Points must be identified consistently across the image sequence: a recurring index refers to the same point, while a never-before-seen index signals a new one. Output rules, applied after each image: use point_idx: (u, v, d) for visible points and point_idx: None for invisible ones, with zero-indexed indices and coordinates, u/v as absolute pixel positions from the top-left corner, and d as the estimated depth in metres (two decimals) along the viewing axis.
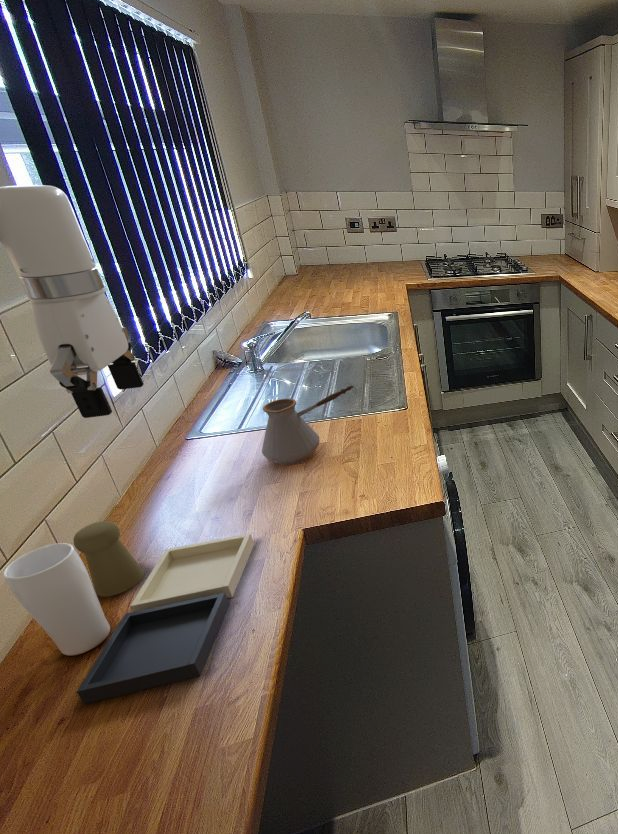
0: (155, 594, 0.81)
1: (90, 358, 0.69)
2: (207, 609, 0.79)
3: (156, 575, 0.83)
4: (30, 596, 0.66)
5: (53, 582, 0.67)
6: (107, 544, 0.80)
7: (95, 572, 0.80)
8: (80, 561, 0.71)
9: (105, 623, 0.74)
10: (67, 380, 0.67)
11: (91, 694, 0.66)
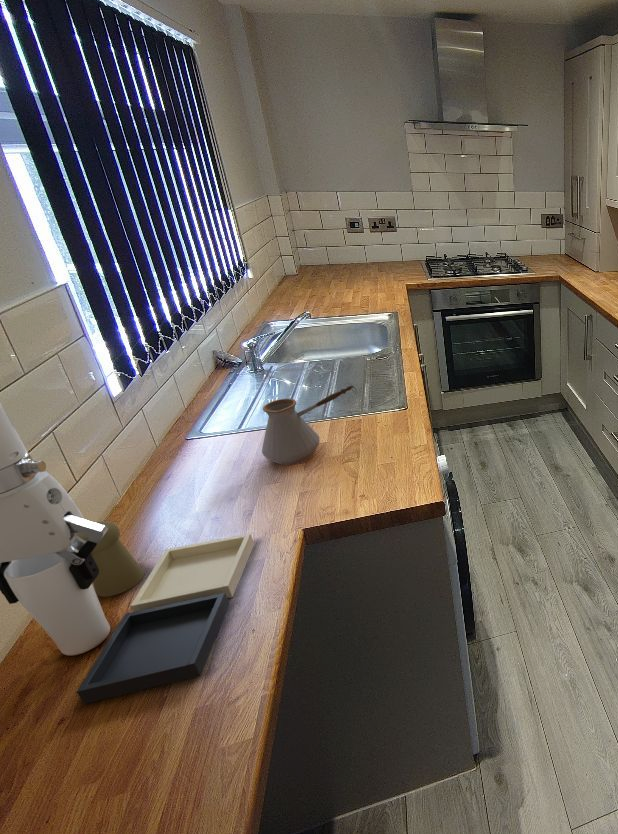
0: (155, 594, 0.81)
1: None
2: (207, 609, 0.79)
3: (156, 575, 0.83)
4: (31, 596, 0.66)
5: (53, 582, 0.67)
6: (107, 544, 0.80)
7: None
8: None
9: (105, 623, 0.74)
10: None
11: (91, 694, 0.66)
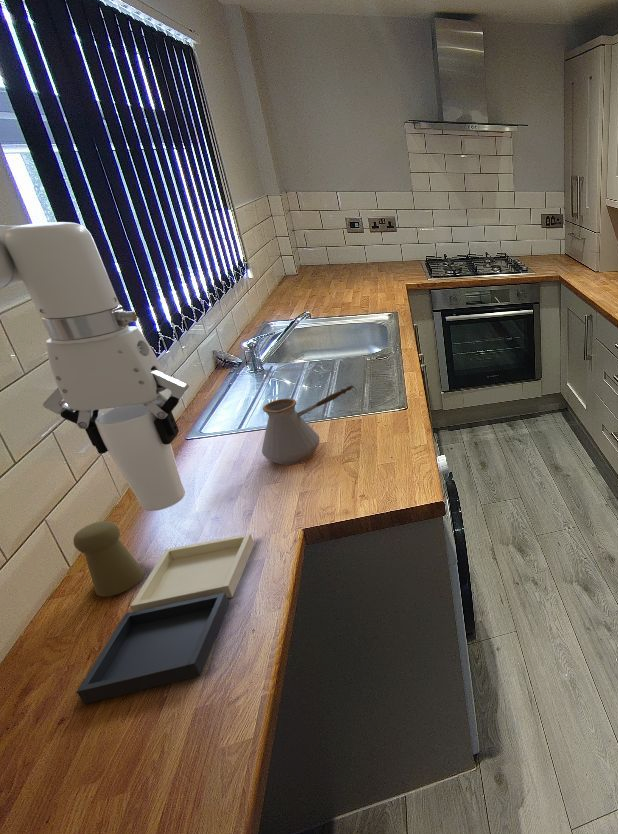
0: (155, 594, 0.81)
1: (63, 397, 0.68)
2: (207, 609, 0.79)
3: (156, 575, 0.83)
4: (120, 444, 0.70)
5: (140, 432, 0.71)
6: (107, 544, 0.80)
7: (95, 572, 0.80)
8: None
9: (181, 485, 0.79)
10: None
11: (91, 694, 0.66)
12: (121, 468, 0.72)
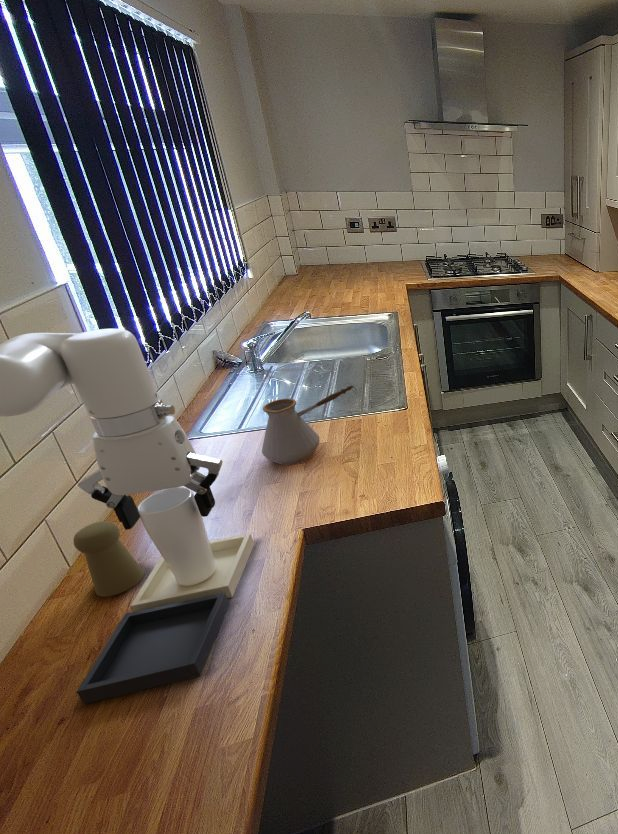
0: (155, 594, 0.81)
1: (106, 484, 0.73)
2: (207, 609, 0.79)
3: (156, 575, 0.83)
4: (160, 530, 0.77)
5: (178, 518, 0.78)
6: (107, 544, 0.80)
7: (95, 572, 0.80)
8: None
9: (213, 560, 0.85)
10: None
11: (91, 694, 0.66)
12: (160, 550, 0.79)
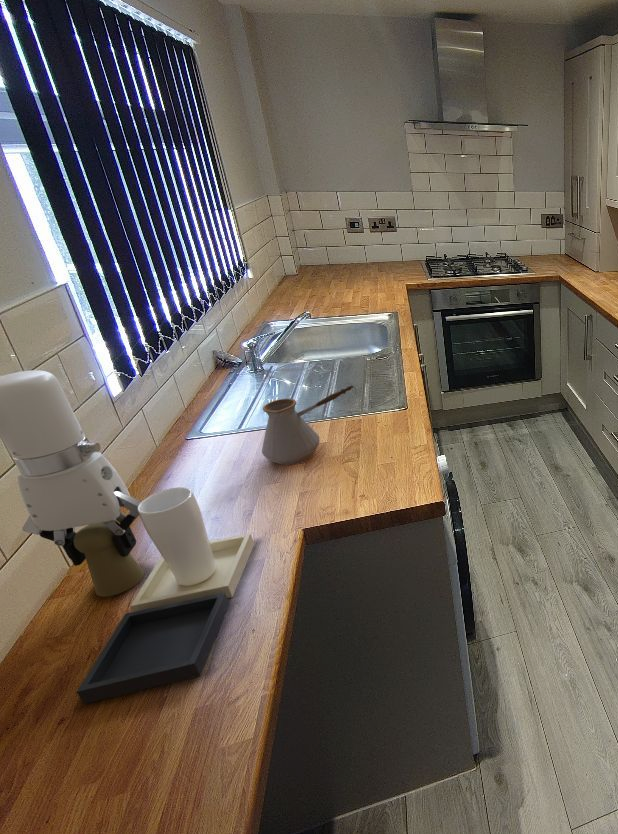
0: (155, 594, 0.81)
1: (33, 521, 0.75)
2: (207, 609, 0.79)
3: (156, 575, 0.83)
4: (160, 530, 0.77)
5: (178, 518, 0.78)
6: (107, 544, 0.80)
7: (95, 572, 0.80)
8: (197, 503, 0.81)
9: (213, 560, 0.85)
10: None
11: (91, 694, 0.66)
12: (160, 550, 0.79)
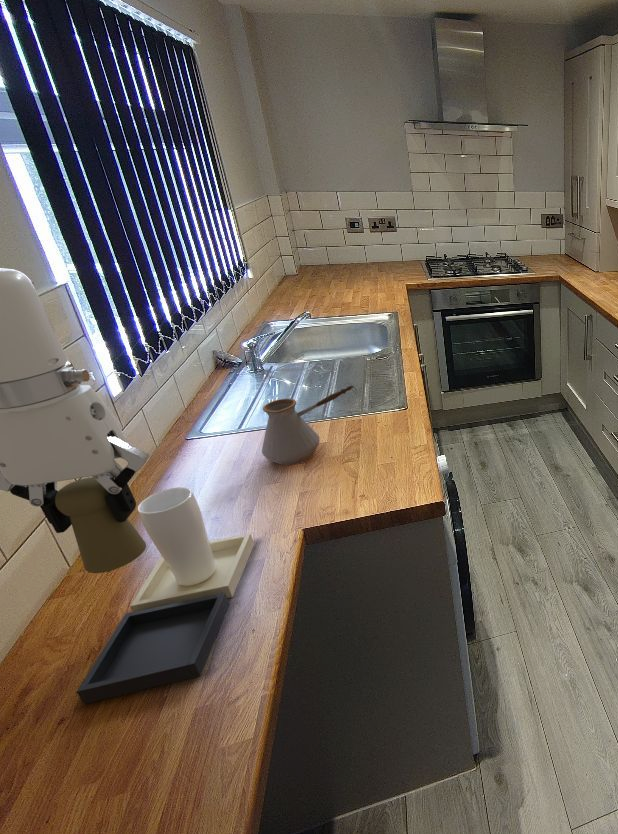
0: (155, 594, 0.81)
1: (1, 472, 0.57)
2: (207, 609, 0.79)
3: (156, 575, 0.83)
4: (160, 530, 0.77)
5: (178, 518, 0.78)
6: (99, 505, 0.62)
7: (84, 541, 0.63)
8: (197, 503, 0.81)
9: (213, 560, 0.85)
10: None
11: (91, 694, 0.66)
12: (160, 550, 0.79)
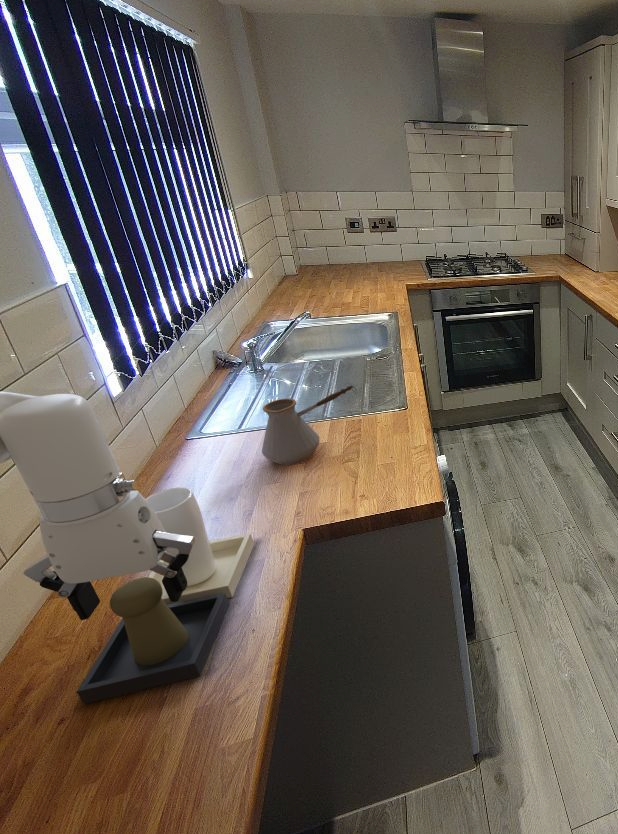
0: None
1: (56, 573, 0.63)
2: (207, 609, 0.79)
3: (156, 575, 0.83)
4: None
5: (178, 518, 0.78)
6: (149, 606, 0.68)
7: (135, 638, 0.69)
8: (197, 503, 0.81)
9: (213, 560, 0.85)
10: None
11: (91, 694, 0.66)
12: None
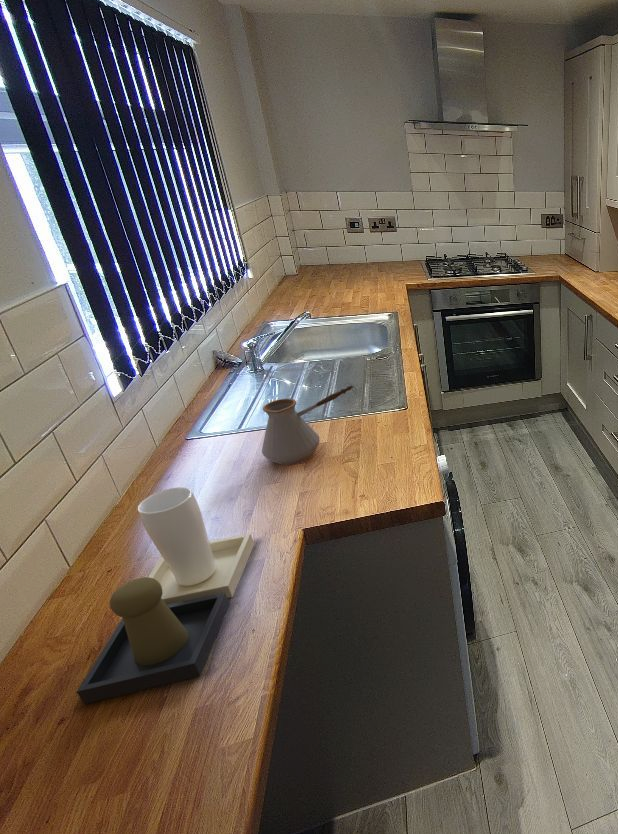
0: None
1: None
2: (207, 609, 0.79)
3: (156, 575, 0.83)
4: (160, 530, 0.77)
5: (178, 518, 0.78)
6: (149, 606, 0.68)
7: (135, 638, 0.69)
8: (197, 503, 0.81)
9: (213, 560, 0.85)
10: None
11: (91, 694, 0.66)
12: (160, 550, 0.79)
